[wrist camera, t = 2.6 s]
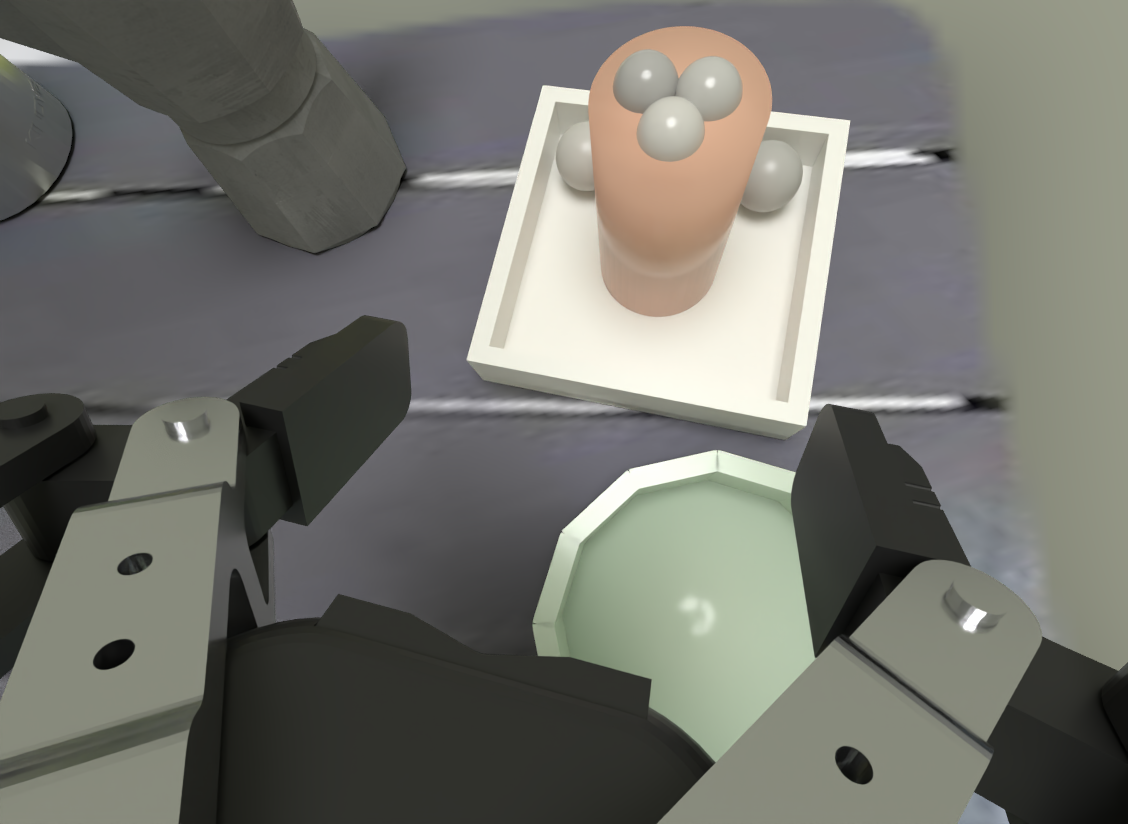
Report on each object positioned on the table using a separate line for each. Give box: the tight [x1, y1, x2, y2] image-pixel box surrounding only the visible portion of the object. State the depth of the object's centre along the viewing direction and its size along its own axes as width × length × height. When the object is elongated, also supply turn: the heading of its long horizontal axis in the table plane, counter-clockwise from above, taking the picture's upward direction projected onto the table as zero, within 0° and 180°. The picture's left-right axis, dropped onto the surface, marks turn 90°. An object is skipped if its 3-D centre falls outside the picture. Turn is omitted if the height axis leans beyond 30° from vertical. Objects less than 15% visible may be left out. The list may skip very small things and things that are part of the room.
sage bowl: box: [532, 450, 816, 762], centre depth 22 cm, size 13×13×4 cm
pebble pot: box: [588, 26, 772, 317], centre depth 21 cm, size 5×5×11 cm
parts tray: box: [467, 85, 850, 440], centre depth 25 cm, size 14×14×4 cm
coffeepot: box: [0, 0, 406, 253], centre depth 22 cm, size 15×9×18 cm, turn 136°
